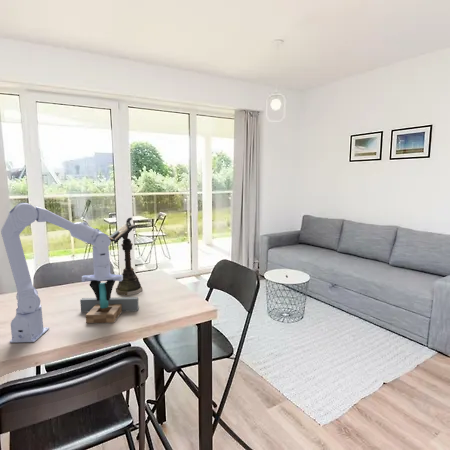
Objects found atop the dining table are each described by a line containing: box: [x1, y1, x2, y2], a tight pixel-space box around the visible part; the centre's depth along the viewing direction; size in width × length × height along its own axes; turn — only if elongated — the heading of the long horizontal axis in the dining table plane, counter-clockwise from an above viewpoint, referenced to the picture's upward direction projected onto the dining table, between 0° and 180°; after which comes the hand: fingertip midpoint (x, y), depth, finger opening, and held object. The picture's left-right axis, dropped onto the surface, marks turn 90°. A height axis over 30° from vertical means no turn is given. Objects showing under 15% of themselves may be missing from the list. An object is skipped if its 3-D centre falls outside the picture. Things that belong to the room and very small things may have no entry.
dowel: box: [99, 282, 109, 308], centre depth 120 cm, size 3×3×9 cm
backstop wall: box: [79, 296, 139, 313], centre depth 128 cm, size 4×22×5 cm, turn 92°
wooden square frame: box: [85, 304, 123, 324], centre depth 121 cm, size 10×10×3 cm
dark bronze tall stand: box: [108, 217, 143, 296], centre depth 145 cm, size 17×13×35 cm
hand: (103, 299), depth 120 cm, fingers closed on dowel, 3 cm apart
